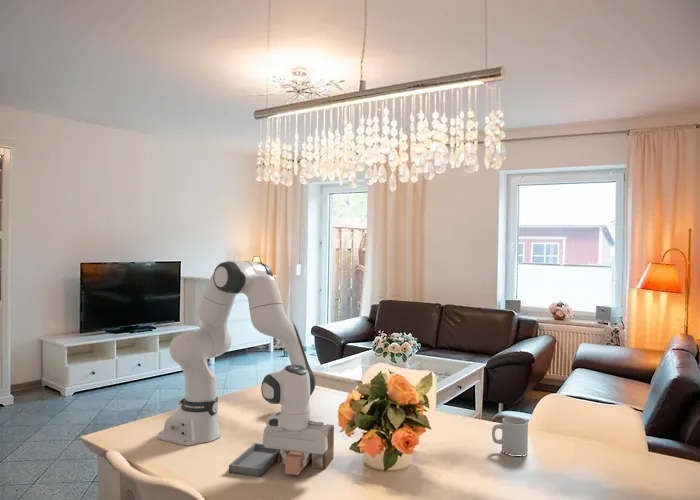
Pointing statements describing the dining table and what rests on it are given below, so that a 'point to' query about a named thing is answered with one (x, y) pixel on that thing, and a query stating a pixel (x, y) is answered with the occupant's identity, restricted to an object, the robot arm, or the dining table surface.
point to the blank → (295, 462)
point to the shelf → (319, 459)
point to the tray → (254, 461)
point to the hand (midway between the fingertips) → (294, 464)
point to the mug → (513, 435)
